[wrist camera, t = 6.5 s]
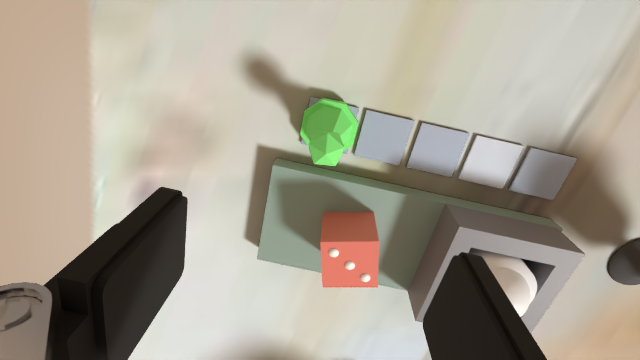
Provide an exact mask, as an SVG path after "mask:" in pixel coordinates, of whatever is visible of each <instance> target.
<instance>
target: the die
mask: <svg viewBox="0 0 640 360" xmlns="http://www.w3.org/2000/svg"><path fill="white" fill-rule="evenodd" d="M320 247H321V265H322V282H323V287H378V263H379V238H378V232H377V227H376V222H375V216H374V212H325V213H323V218H322V228H321V239H320Z"/></svg>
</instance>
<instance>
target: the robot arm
mask: <svg viewBox="0 0 640 360" xmlns="http://www.w3.org/2000/svg"><path fill="white" fill-rule="evenodd" d="M186 220H187V198H186V197H184V196H182V192H181V191H179V190H174V189H169V188H165V187H160V188H159V189H158V190H156V191H155V192H154V193H153V194H152V195H151V196H149V197H148V198H147V199H146V200H145V201H144V202H143V203H141V204H140V205H139V206H138V207H137V208H136V209H135V210H133V211H132V212H131V213H130V214H129V215H128V216H127V217H125V218H124V219H123V220H122V221H121V222H120V223H118V224H115V225H114V226H112V227H111V228H110V229H109V230H108V231H106V232H105V233H104V234H103V235H102V236H101V237H99V238H98V239H97V240H96V241H95V242H94V243H92V244H91V245H90V246H89V247H88V248H87V249H85V250H84V251H83V252H82V253H81V254H80V255H79V256H77V257H76V258H75V259H74V260H73V261H72V262H71V263H69V264H68V265H67V266H66V267H65V268H63V269H62V270H61V271H60V272H59V273H58V274H57V275H55V276H54V277H53V278H52V279H51V280H49V281H48V282H47V283H46V284H45V285H44V286H42V285H39V284H37V283H27V282H23V283H12V284H8V285H3V286H0V360H128V358H129V356H130V355H131V353H132V352H133V350H134V349H135V347H136V346H137V344H138V343H139V341H140V339H141V338H142V336H143V335H144V333H145V332H146V330H147V329H148V327H149V326H150V324H151V322H152V321H153V319H154V318H155V316H156V315H157V313H158V312H159V310H160V308H161V307H162V305H163V304H164V302H165V301H166V299H167V298H168V296H169V295H170V293H171V291H172V290H173V288H174V287H175V285H176V284H177V282H178V281H179V279H180V277H181V275H182V273H183V269H184V258H185V239H186ZM423 329H424V333H425V336H426V340H427V343H428V347H429V351H430V354H431V358H432V360H547V359H546V357H545V356H544V354H543V352H542V351H541V349H540V348H539V346H538V344H537V343H536V341H535V340H534V338H533V337H532V335H531V333H530V332H529V330H528V329H527V327H526V325H525V324H524V322H523V321H522V319H521V317H520V316H519V314H518V313H517V311H516V309H515V308H514V306H513V305H512V303H511V302H510V300H509V298H508V297H507V295H506V294H505V292H504V290H503V289H502V287H501V286H500V284H499V282H498V281H497V279H496V278H495V276H494V274H493V273H492V271H491V270H490V268H489V267H488V265H487V263H486V262H485V260H484V259H483V257H482V256H479V255H474V254H470V253H465V252H461V253H460V254H459V255H458V256H457V255H455V256H453V258H452V259H451V261H450V263H449V265H448V267H447V270H446V272H445V274H444V276H443V278H442V280H441V282H440V284H439V286H438V288H437V290H436V292H435V294H434V297H433V299H432V301H431V303H430V305H429V307H428V309H427V311H426V313H425V315H424V318H423Z"/></svg>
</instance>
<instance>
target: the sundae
mask: <svg viewBox="0 0 640 360" xmlns="http://www.w3.org/2000/svg"><path fill="white" fill-rule="evenodd" d="M609 274H610V276H611V277H612V278H613V280H615V281H617V282H619V283H621V284H624V285H637V284H640V239H639V240H636V241H633V242H631V243H628V244H627V245H625V246H623V247H622V248H620V249H619V250H618V251H617V252H616V253H615V254H614V255H613V257H612V259H611V260H610V263H609Z"/></svg>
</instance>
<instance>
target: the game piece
mask: <svg viewBox="0 0 640 360" xmlns="http://www.w3.org/2000/svg"><path fill="white" fill-rule="evenodd" d="M357 126H358V121H357V119H356V118H355V116H354V114H353V113H352V111H351V110H350V108H349V107H348V105H347V104H346V102H342V101H337V100H332V99H327V98H322V99H321V100H319V101H318V102H316V103H315V104H313V105H312V106H311V107H309V108H308V109H306V110H305V111H304V114H303V120H302V126H301V132H300V135H301V137H302V138H303V139H304V141H305V142H306V144H307V145H308V146H309V150H310V153H311V156H312V159H313V163H314V164H320V165H330V166H336V164H337V162H338V161H339V159H340V157H341V155H342V154H343V151H344V150H346V149H347V148H349V147H351V146H352V145H353V143H354V139H355V135H356V131H357Z"/></svg>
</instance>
